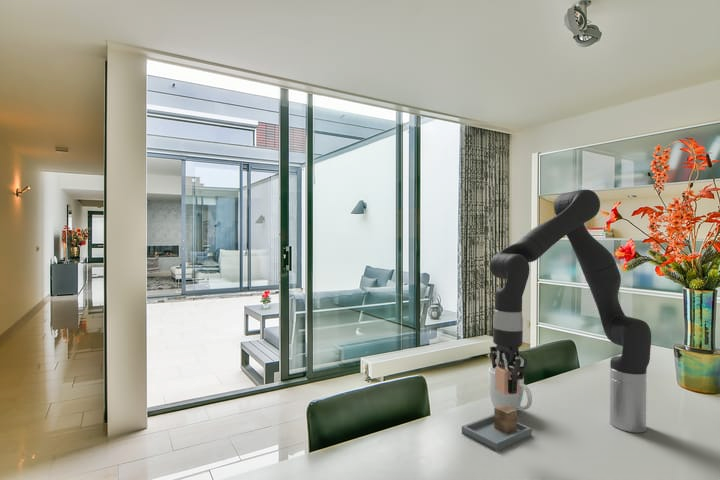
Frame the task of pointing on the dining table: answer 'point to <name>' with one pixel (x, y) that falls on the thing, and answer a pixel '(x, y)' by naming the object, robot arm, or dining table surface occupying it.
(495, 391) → the mug
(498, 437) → the tray
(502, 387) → the block
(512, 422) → the block
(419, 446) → the dining table surface
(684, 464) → the dining table surface
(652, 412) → the dining table surface
